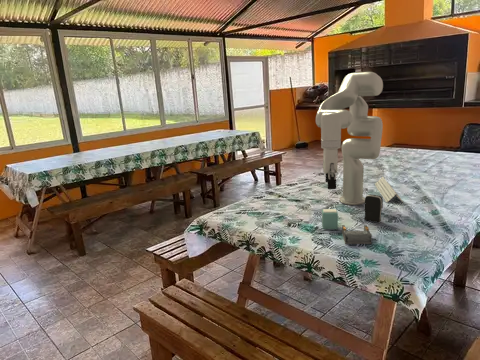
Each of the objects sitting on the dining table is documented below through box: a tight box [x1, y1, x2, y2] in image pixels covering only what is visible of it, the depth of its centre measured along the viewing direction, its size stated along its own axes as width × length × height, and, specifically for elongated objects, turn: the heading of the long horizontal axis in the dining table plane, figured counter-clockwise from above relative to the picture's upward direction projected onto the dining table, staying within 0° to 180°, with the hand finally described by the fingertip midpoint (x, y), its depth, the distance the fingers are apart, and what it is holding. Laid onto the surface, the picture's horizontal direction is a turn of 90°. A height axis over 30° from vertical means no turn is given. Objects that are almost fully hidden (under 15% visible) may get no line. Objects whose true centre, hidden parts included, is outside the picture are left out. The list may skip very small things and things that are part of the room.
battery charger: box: [363, 193, 384, 223], centre depth 151 cm, size 7×4×11 cm, turn 49°
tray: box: [341, 224, 373, 245], centre depth 137 cm, size 10×10×4 cm
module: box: [321, 208, 339, 230], centre depth 148 cm, size 4×6×7 cm
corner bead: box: [374, 176, 404, 203], centre depth 186 cm, size 31×9×5 cm, turn 170°
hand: (330, 185), depth 144 cm, fingers open, 9 cm apart
